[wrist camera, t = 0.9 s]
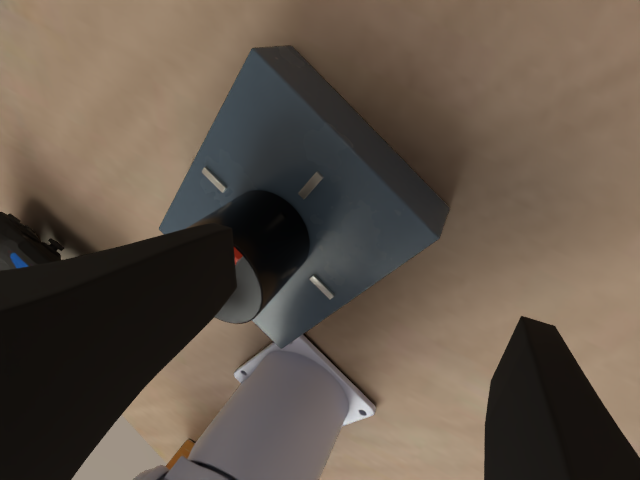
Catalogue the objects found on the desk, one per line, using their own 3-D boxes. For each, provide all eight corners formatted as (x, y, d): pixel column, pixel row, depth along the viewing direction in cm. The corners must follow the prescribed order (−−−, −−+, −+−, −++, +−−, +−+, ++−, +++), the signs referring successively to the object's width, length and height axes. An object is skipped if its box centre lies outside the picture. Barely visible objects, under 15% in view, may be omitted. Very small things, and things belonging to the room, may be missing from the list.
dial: (278, 287, 18) (227, 344, 15) (217, 226, 18) (151, 270, 15) (328, 241, 16) (278, 298, 12) (257, 169, 16) (187, 207, 12)
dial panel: (304, 317, 23) (279, 351, 21) (193, 208, 23) (155, 230, 21) (451, 207, 16) (439, 240, 13) (290, 44, 16) (248, 46, 13)
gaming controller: (165, 326, 36) (135, 314, 27) (120, 374, 34) (71, 380, 25) (43, 224, 37) (-26, 179, 28) (-7, 265, 35) (-100, 232, 26)
